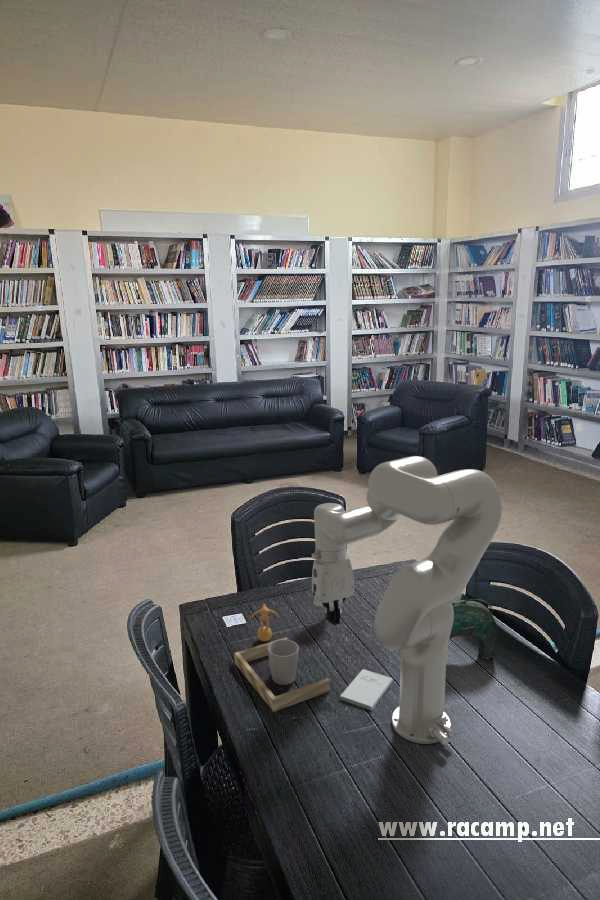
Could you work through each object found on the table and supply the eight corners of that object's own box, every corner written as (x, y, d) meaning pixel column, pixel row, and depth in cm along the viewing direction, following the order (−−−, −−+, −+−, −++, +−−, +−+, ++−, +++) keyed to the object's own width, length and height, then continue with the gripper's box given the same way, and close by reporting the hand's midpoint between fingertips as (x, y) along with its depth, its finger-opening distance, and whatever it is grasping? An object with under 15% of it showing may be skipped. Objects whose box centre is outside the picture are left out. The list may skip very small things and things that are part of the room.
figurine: (279, 635, 172) (278, 596, 169) (281, 647, 166) (280, 606, 163) (249, 637, 171) (247, 598, 168) (250, 649, 165) (248, 608, 162)
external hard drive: (339, 701, 145) (362, 673, 155) (372, 713, 141) (392, 683, 151) (339, 695, 144) (362, 668, 155) (372, 706, 140) (393, 677, 151)
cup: (268, 689, 149) (267, 657, 147) (267, 664, 158) (267, 635, 156) (300, 687, 149) (300, 655, 147) (297, 663, 159) (297, 633, 157)
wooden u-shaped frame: (329, 691, 147) (329, 680, 147) (273, 711, 140) (273, 700, 140) (286, 647, 166) (286, 637, 165) (234, 663, 159) (234, 652, 158)
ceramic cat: (420, 665, 157) (423, 592, 153) (415, 650, 164) (418, 581, 159) (498, 662, 158) (503, 590, 153) (489, 648, 164) (494, 579, 159)
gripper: (312, 565, 146) (316, 637, 150) (364, 551, 153) (366, 620, 157) (297, 555, 152) (300, 624, 156) (347, 543, 159) (350, 609, 163)
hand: (333, 622), depth 156 cm, fingers closed
